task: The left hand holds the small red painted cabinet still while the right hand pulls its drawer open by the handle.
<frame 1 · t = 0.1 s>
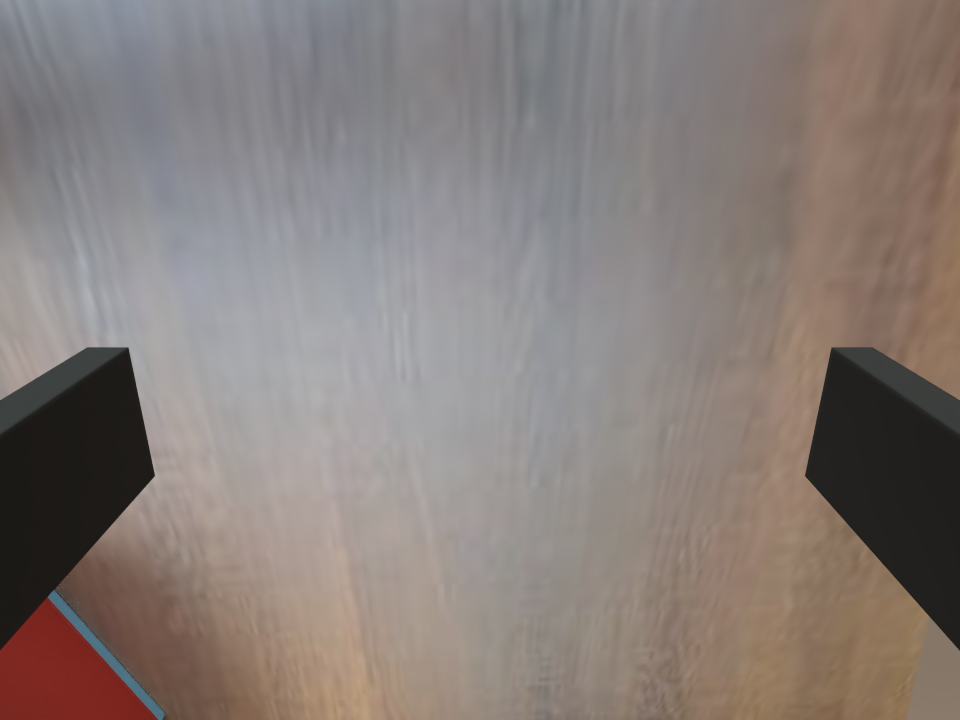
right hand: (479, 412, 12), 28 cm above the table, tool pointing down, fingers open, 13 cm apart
cabinet: (32, 652, 51), on the table
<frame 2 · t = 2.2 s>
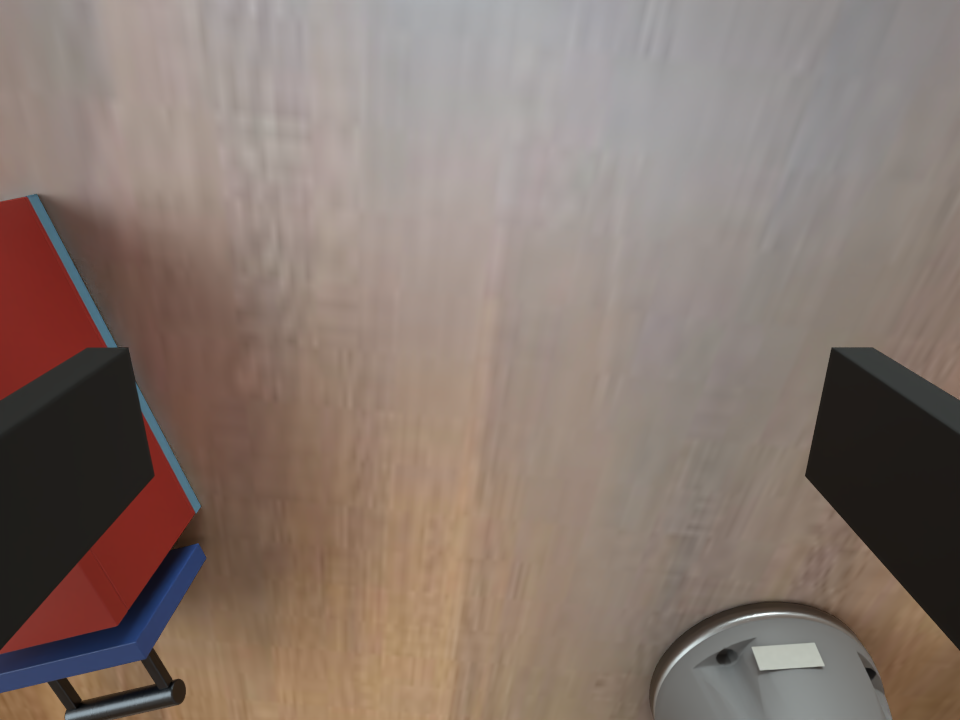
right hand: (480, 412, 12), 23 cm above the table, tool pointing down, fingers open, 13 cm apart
cabinet: (41, 388, 38), on the table
drawer: (44, 530, 35), point 5 cm above the table, slide at 1.9 cm
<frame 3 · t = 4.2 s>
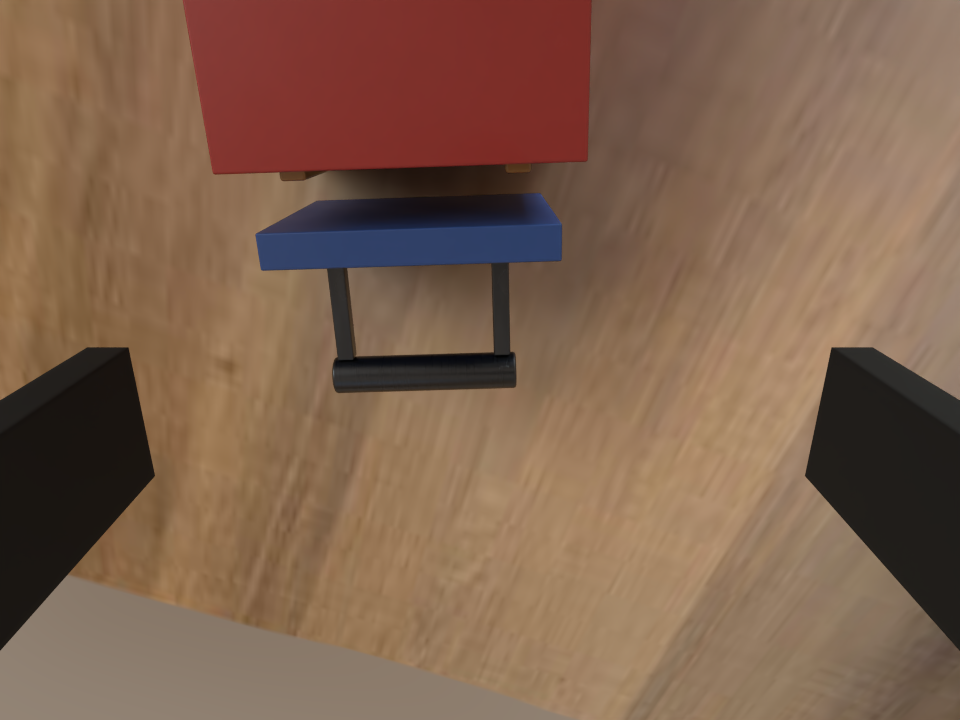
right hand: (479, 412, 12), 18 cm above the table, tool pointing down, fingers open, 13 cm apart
drawer: (408, 48, 22), point 5 cm above the table, slide at 1.9 cm
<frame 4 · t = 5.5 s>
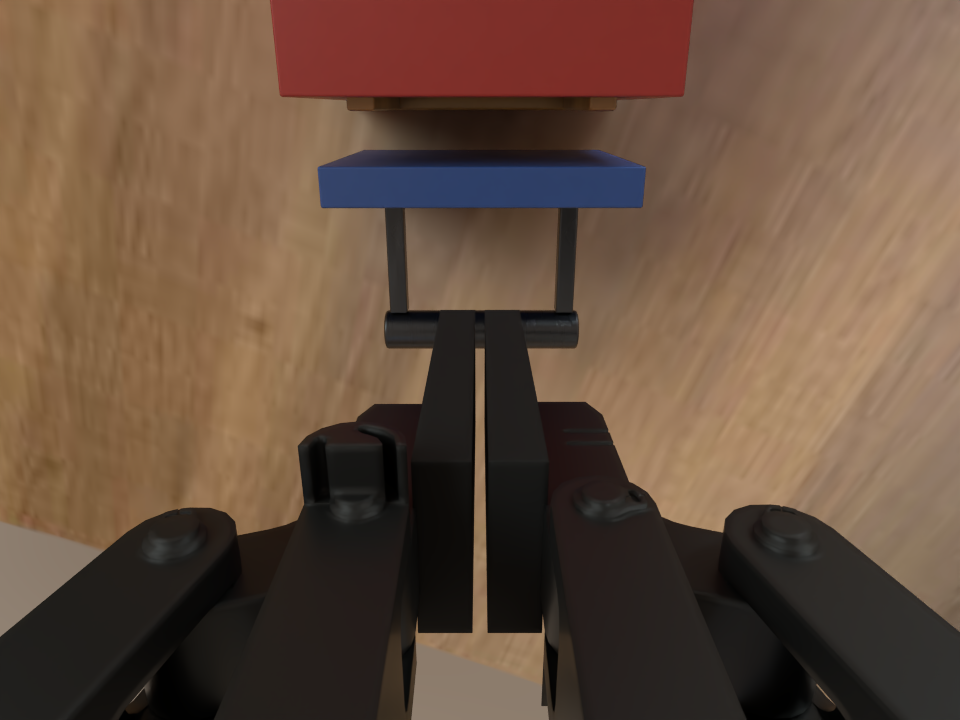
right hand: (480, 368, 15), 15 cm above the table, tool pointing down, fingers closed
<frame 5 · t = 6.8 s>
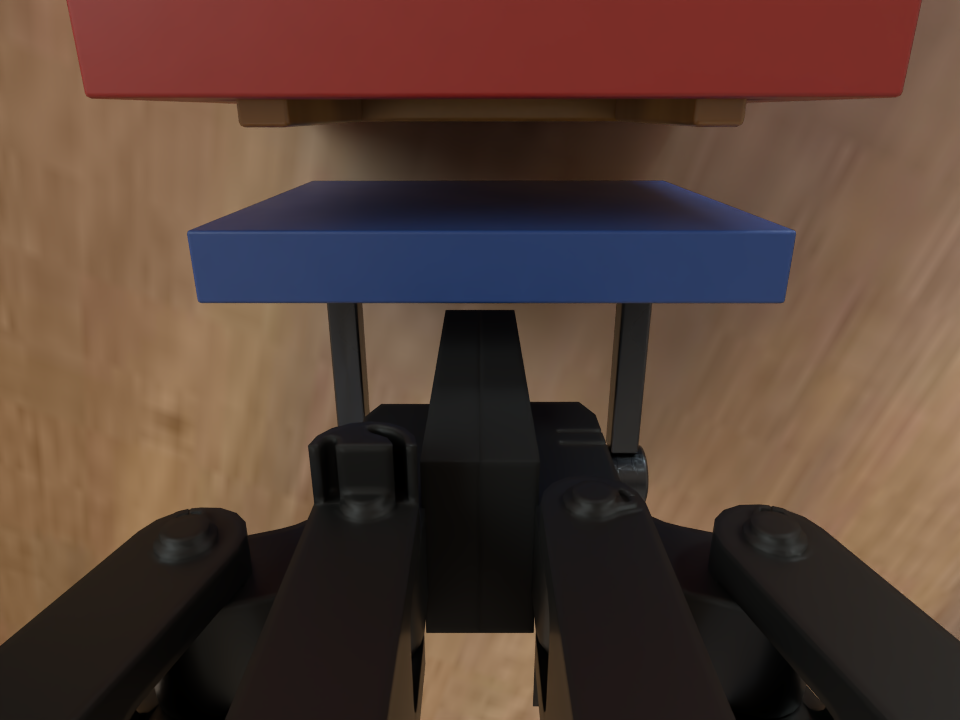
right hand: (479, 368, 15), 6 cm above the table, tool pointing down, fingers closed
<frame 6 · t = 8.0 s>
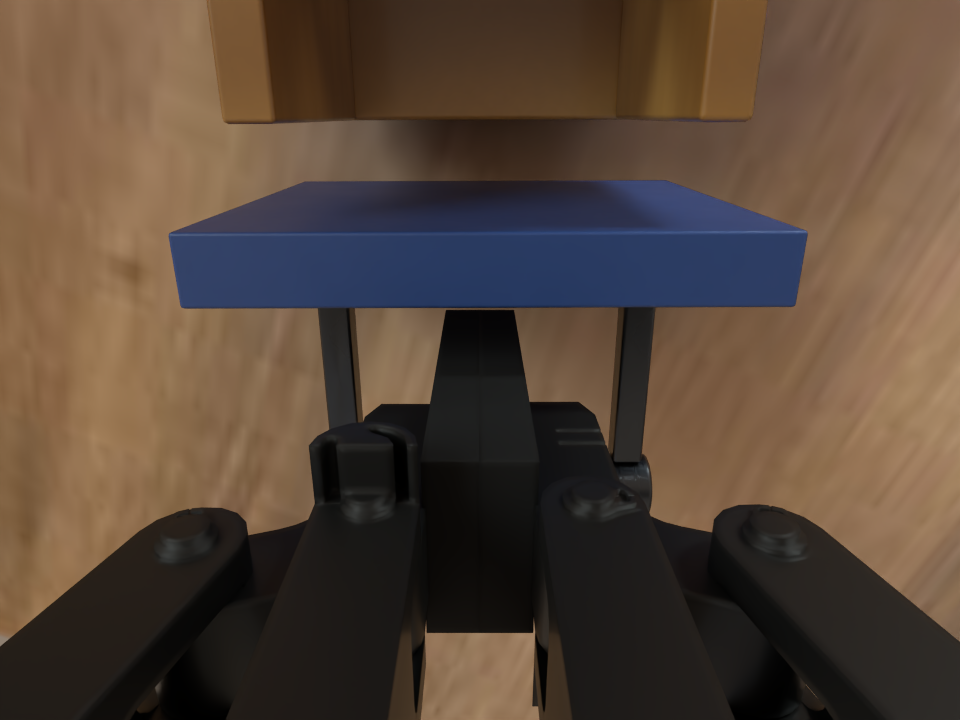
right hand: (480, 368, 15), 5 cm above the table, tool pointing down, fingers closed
when the left hand's fingers open (5 cm above the table, at t = 9.5 s): cabinet stays where it is, on the table.
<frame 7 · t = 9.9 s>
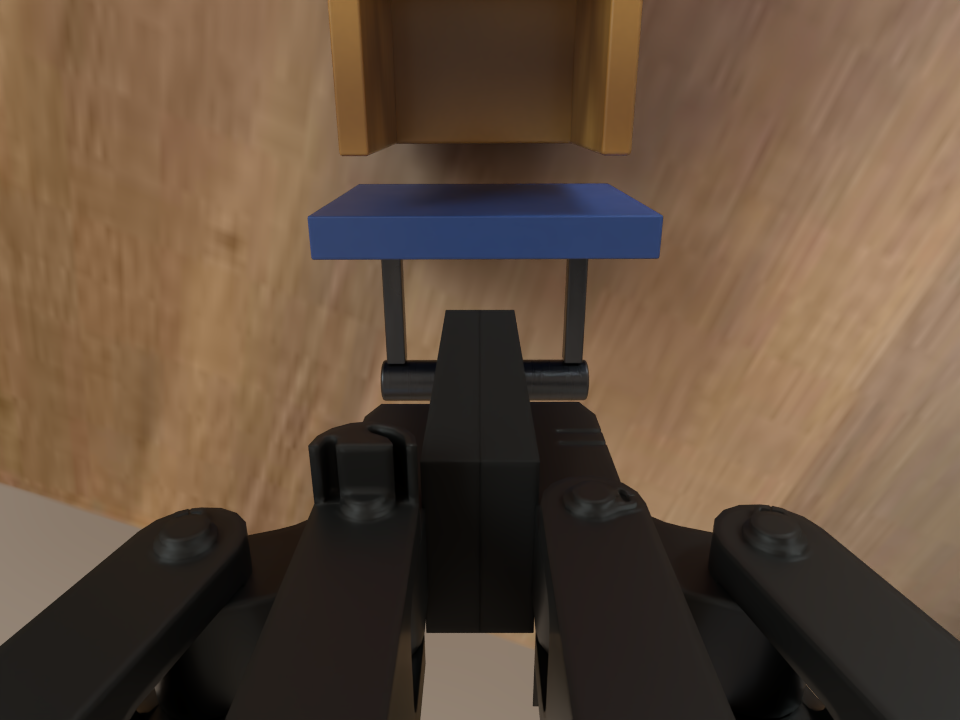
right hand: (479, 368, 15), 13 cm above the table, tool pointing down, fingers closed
drawer: (484, 10, 19), point 5 cm above the table, slide at 7.1 cm
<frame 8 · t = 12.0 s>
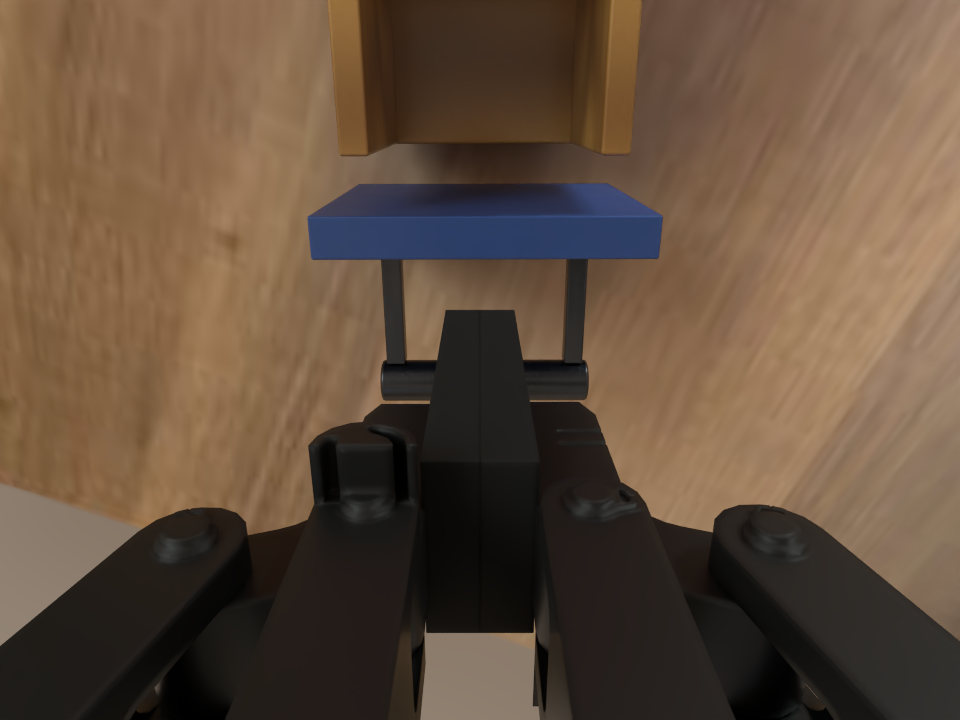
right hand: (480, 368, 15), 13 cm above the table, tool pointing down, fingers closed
drawer: (484, 10, 19), point 5 cm above the table, slide at 7.1 cm
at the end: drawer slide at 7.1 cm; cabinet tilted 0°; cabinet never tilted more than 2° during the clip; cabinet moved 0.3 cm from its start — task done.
